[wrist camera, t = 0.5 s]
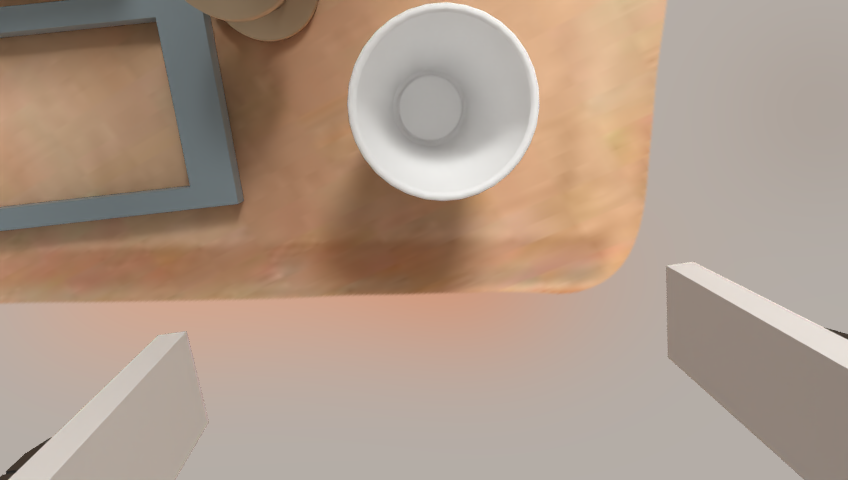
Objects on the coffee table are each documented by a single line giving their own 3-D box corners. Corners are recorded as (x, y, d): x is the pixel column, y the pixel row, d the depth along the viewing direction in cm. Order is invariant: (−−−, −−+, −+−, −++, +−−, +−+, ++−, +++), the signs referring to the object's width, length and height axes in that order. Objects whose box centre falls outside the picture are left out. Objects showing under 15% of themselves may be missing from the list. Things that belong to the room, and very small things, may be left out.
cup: (392, 199, 40) (392, 229, 29) (336, 67, 38) (315, 47, 27) (518, 147, 40) (565, 159, 29) (470, 11, 37) (501, -31, 27)
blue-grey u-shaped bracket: (-11, 229, 39) (-27, 234, 37) (-73, 20, 36) (-93, 16, 34) (243, 200, 39) (238, 204, 38) (205, -8, 36) (197, -13, 35)
